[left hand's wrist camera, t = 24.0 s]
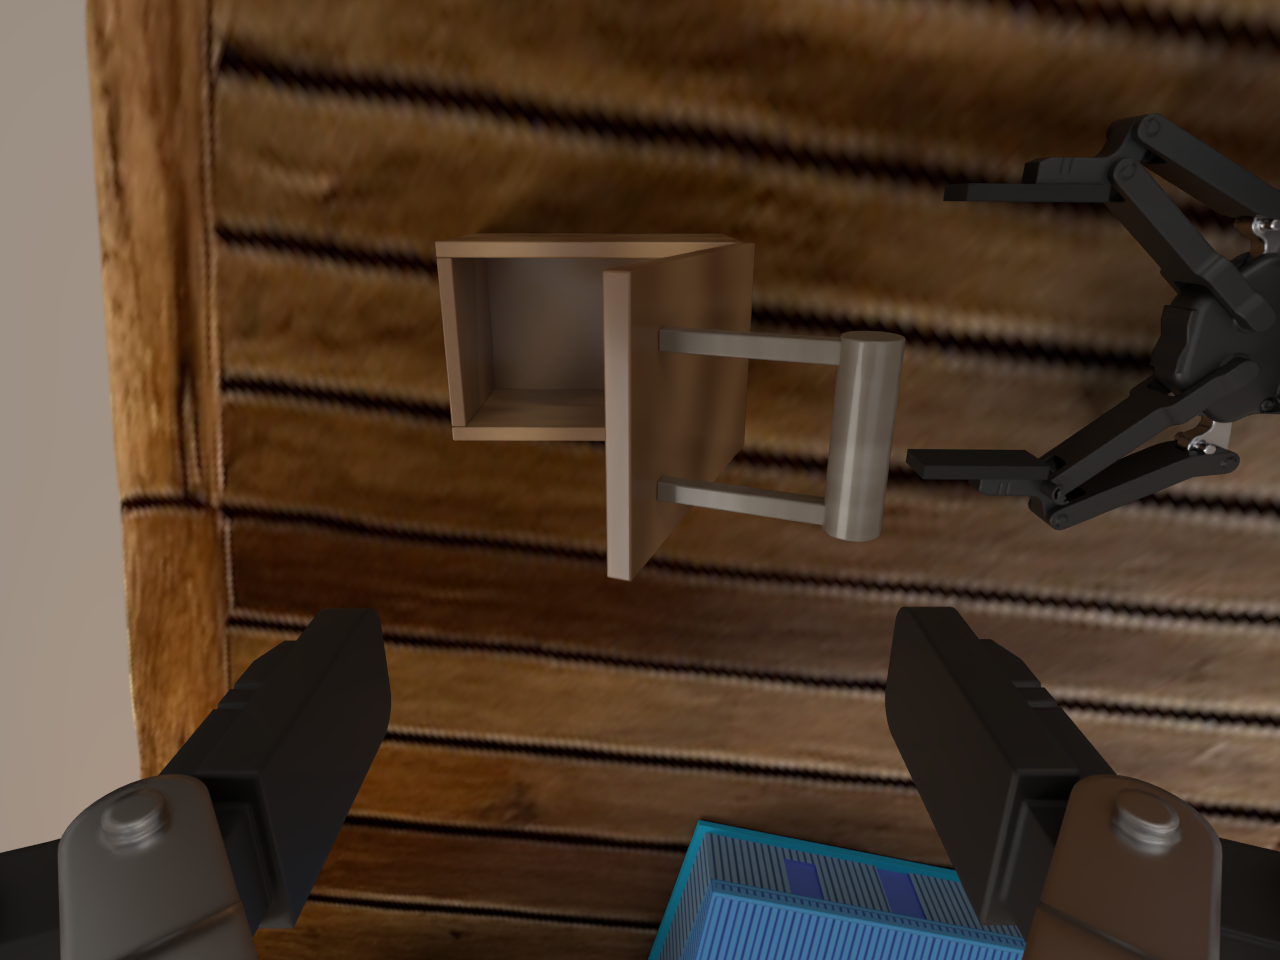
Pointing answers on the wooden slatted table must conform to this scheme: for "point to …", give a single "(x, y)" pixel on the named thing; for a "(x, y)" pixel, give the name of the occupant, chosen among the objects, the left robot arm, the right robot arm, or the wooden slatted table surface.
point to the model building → (818, 905)
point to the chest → (535, 328)
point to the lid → (724, 404)
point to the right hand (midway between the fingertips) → (933, 336)
